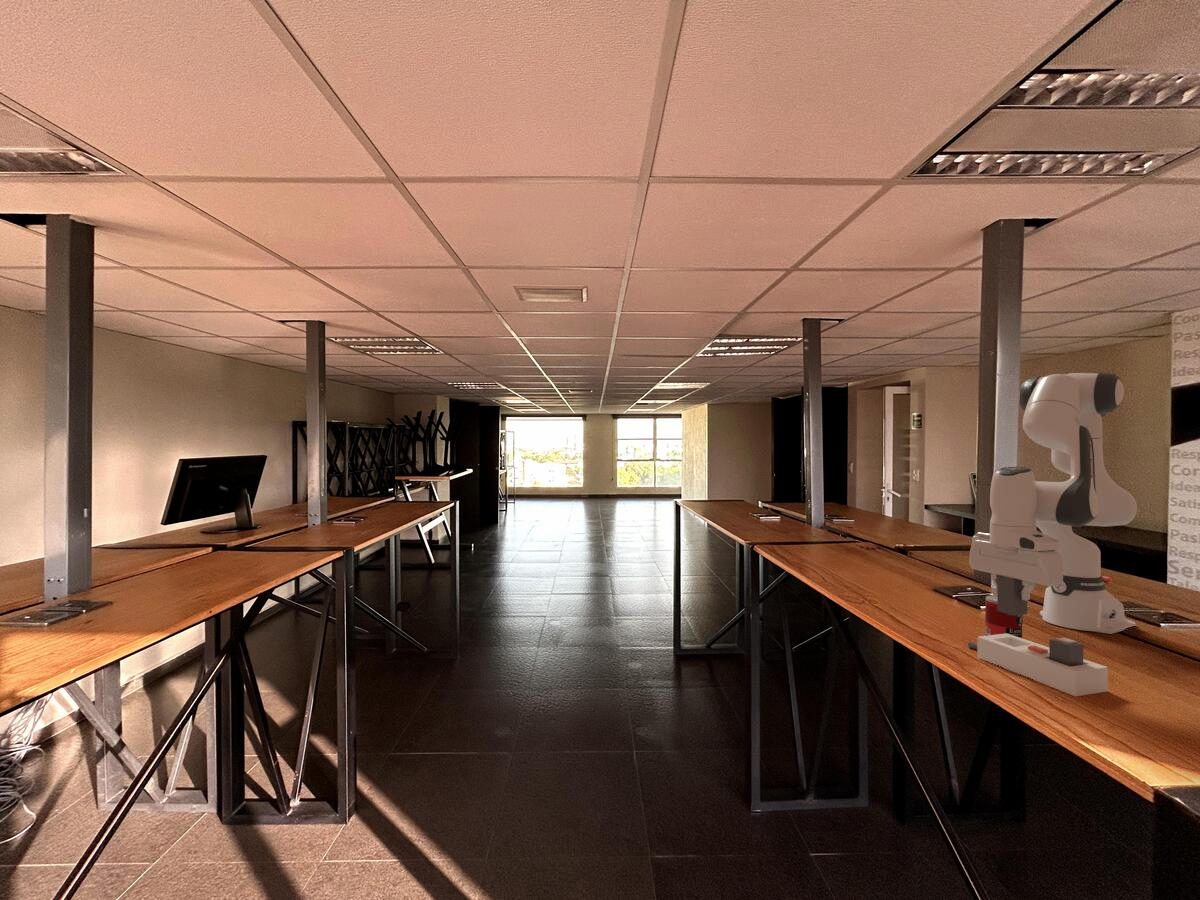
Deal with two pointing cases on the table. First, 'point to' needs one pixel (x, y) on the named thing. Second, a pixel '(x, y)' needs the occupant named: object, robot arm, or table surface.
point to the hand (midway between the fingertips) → (1012, 596)
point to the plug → (1010, 596)
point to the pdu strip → (1045, 662)
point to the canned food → (1001, 620)
